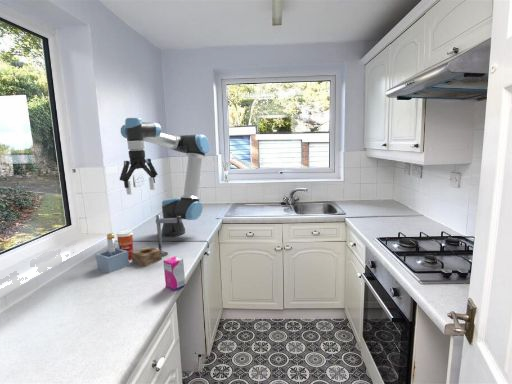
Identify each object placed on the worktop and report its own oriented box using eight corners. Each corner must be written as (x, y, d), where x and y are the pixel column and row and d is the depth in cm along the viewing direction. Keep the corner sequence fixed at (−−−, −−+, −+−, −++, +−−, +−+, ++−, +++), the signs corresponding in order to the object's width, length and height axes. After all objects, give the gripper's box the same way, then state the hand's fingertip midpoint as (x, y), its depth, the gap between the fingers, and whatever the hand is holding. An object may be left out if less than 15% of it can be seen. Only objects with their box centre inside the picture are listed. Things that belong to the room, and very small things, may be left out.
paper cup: (117, 262, 146) (114, 235, 144) (120, 256, 154) (117, 230, 152) (134, 260, 148) (131, 233, 146) (136, 254, 156) (134, 229, 154)
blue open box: (117, 261, 148) (115, 247, 147) (129, 265, 143) (127, 251, 141) (97, 268, 140) (95, 254, 139) (109, 272, 134) (107, 258, 133)
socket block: (149, 255, 154) (148, 246, 154) (161, 259, 149) (161, 249, 148) (132, 262, 146) (131, 252, 145) (144, 266, 141) (144, 256, 140)
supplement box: (177, 281, 124) (175, 255, 122) (185, 285, 120) (184, 258, 118) (165, 286, 120) (162, 260, 118) (173, 291, 116) (171, 263, 114)
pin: (118, 264, 141) (115, 234, 139) (112, 266, 139) (109, 235, 137) (114, 262, 143) (111, 233, 141) (108, 265, 141) (105, 234, 138)
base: (161, 252, 158) (161, 250, 158) (168, 254, 155) (167, 252, 155) (153, 255, 154) (153, 253, 154) (160, 257, 151) (160, 255, 151)
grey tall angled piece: (158, 253, 153) (155, 216, 150) (159, 251, 155) (156, 214, 152) (182, 252, 153) (180, 215, 150) (183, 250, 156) (181, 214, 153)
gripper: (152, 148, 159) (156, 187, 163) (108, 151, 138) (113, 195, 142) (161, 148, 155) (165, 188, 159) (117, 151, 134) (123, 197, 138)
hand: (141, 192), depth 151 cm, fingers open, 13 cm apart
